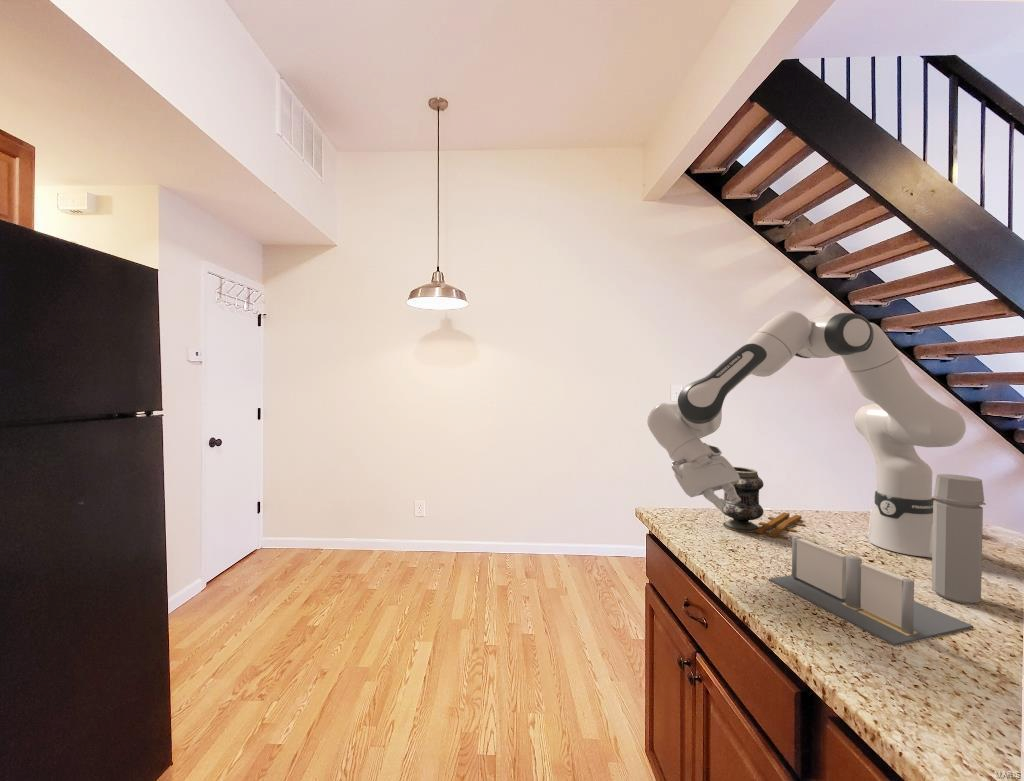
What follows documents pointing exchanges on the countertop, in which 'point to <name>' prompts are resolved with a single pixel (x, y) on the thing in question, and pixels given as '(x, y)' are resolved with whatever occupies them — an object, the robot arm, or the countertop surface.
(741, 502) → the apothecary jar
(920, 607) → the mat
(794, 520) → the decorative fence
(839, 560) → the beige rectangular panel
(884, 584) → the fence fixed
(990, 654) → the countertop surface
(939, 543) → the water bottle
